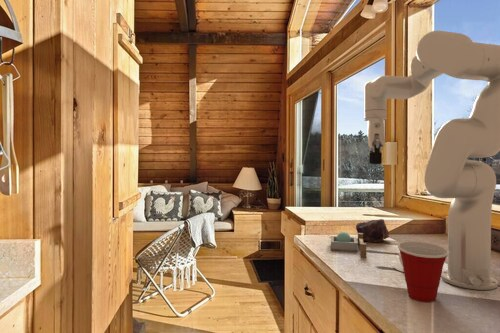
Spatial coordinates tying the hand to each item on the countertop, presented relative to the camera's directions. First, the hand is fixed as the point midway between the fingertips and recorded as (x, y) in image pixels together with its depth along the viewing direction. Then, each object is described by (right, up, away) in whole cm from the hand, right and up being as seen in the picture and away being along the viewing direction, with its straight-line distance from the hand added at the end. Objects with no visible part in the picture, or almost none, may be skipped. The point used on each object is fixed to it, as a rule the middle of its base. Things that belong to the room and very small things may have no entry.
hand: (375, 163), depth 128 cm
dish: (-11, -30, 0) cm, 32 cm away
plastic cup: (-5, -32, -45) cm, 56 cm away
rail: (-6, -30, -4) cm, 31 cm away
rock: (+2, -30, +10) cm, 32 cm away
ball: (-11, -30, 0) cm, 32 cm away
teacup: (+2, -31, -25) cm, 40 cm away
